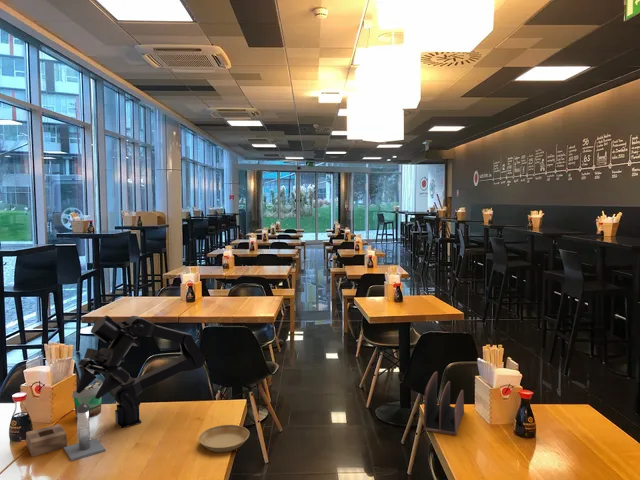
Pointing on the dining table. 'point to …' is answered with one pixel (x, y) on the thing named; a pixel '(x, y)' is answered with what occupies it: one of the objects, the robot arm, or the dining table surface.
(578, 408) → the dining table surface
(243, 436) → the plant saucer
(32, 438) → the block
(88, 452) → the slate pad
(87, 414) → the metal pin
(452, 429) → the letter holder
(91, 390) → the food container
